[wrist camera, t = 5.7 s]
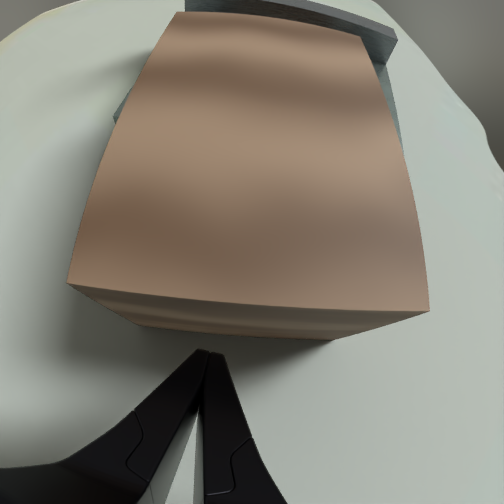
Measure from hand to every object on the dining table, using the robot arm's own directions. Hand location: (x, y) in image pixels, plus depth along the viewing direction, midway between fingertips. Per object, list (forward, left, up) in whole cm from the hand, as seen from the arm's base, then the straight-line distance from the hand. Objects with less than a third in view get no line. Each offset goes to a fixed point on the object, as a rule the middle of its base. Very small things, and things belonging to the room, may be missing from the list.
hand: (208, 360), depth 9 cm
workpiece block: (+7, +7, -7) cm, 12 cm away
